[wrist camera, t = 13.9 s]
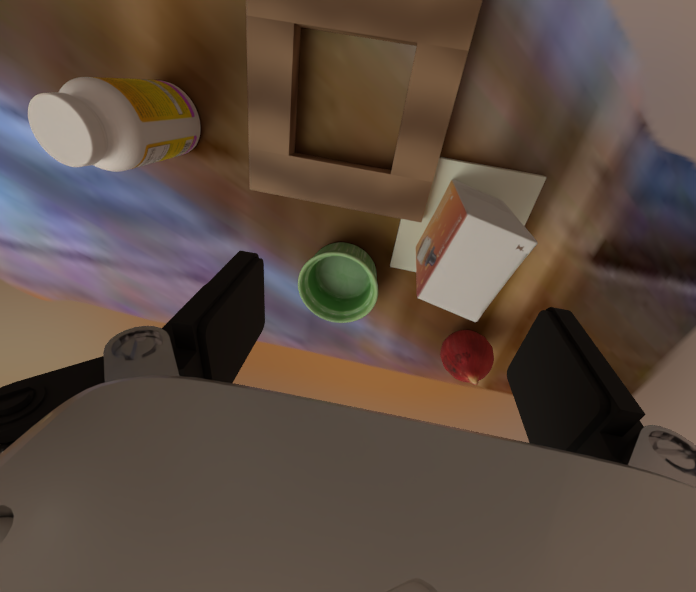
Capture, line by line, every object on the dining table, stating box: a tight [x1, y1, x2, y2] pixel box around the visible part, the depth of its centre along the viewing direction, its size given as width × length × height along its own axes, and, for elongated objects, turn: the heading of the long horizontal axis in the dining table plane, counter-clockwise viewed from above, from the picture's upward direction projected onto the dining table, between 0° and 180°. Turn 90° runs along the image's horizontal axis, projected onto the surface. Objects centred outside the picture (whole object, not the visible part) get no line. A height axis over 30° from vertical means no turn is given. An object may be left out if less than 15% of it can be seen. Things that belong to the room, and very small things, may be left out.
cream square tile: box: [390, 157, 547, 272], centre depth 34 cm, size 12×12×1 cm
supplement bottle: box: [28, 77, 201, 171], centre depth 28 cm, size 7×7×13 cm
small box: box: [416, 179, 537, 322], centre depth 29 cm, size 8×6×10 cm
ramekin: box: [298, 242, 378, 323], centre depth 38 cm, size 9×9×4 cm
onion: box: [440, 330, 494, 385], centre depth 38 cm, size 6×6×8 cm
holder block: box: [246, 0, 482, 222], centre depth 29 cm, size 18×18×2 cm
